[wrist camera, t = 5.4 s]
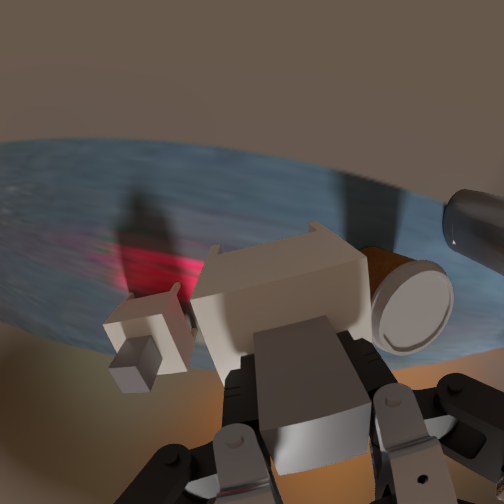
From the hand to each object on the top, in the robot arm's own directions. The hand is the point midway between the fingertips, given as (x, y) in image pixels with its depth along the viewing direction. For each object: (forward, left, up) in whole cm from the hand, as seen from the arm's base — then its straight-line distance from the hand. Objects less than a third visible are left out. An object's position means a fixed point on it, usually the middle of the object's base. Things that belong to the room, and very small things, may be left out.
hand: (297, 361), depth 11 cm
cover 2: (0, 0, -9) cm, 9 cm away
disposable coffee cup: (-12, +7, -21) cm, 25 cm away
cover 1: (+14, +6, -21) cm, 26 cm away
